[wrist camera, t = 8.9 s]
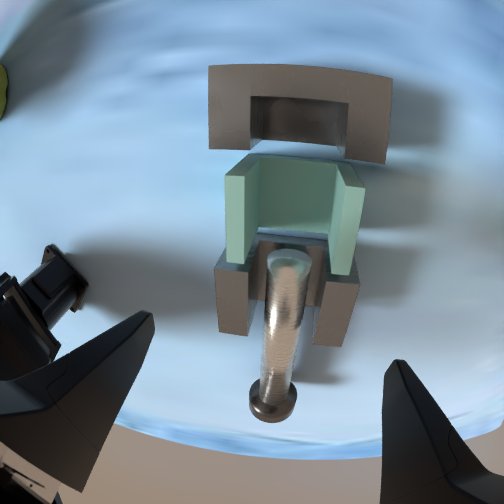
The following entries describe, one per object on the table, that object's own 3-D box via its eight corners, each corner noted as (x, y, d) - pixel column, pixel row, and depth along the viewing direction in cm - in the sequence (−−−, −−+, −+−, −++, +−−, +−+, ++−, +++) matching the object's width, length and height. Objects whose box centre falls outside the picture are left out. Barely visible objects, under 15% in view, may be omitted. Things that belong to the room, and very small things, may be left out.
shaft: (296, 388, 26) (291, 425, 23) (253, 383, 27) (245, 419, 23) (325, 245, 18) (328, 285, 14) (258, 238, 19) (244, 276, 15)
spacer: (339, 229, 18) (348, 275, 14) (247, 219, 19) (226, 262, 15) (349, 162, 16) (365, 188, 11) (248, 153, 17) (224, 175, 12)
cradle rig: (337, 300, 21) (341, 346, 17) (235, 288, 22) (218, 331, 18) (369, 84, 13) (392, 78, 9) (234, 74, 15) (208, 65, 10)
